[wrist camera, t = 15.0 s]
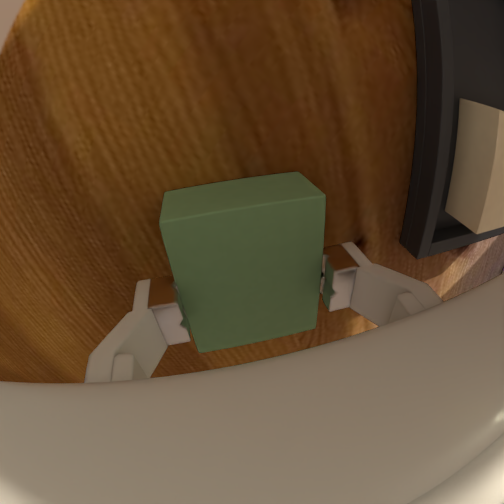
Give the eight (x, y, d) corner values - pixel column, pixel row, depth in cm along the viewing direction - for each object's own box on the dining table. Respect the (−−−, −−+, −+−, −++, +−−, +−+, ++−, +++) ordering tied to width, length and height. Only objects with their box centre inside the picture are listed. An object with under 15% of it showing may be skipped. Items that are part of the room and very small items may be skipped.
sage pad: (194, 312, 13) (198, 354, 11) (164, 191, 10) (158, 222, 8) (297, 291, 14) (316, 328, 12) (298, 170, 10) (327, 195, 8)
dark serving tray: (399, 243, 14) (416, 260, 12) (395, -69, 4) (416, -77, 3) (491, 221, 15) (506, 232, 13) (503, -2, 6) (521, -1, 4)
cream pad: (444, 211, 12) (476, 235, 10) (458, 97, 9) (499, 109, 7) (489, 203, 13) (517, 223, 11) (504, 112, 10) (536, 125, 8)
